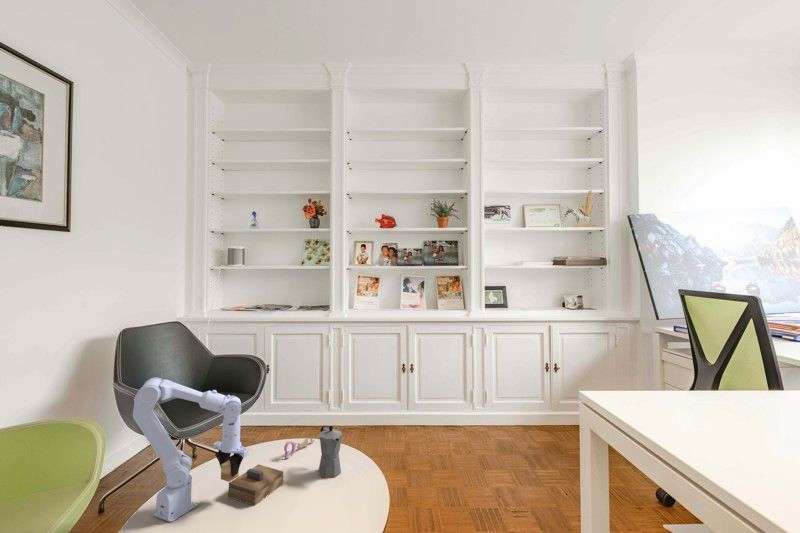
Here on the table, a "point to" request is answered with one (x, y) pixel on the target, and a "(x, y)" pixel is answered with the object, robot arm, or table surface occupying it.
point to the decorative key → (296, 446)
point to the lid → (256, 479)
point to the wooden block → (227, 472)
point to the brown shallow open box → (258, 496)
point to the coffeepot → (330, 452)
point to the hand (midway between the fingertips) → (229, 473)
